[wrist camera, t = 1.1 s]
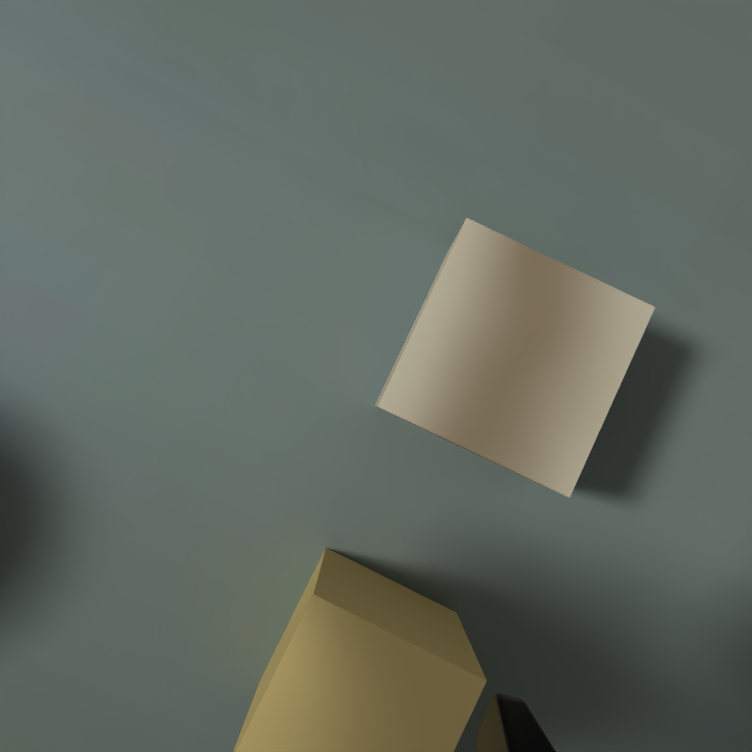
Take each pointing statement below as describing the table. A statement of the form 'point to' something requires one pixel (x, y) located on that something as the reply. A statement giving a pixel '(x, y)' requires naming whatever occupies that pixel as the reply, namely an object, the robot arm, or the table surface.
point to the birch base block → (515, 357)
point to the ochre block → (364, 670)
